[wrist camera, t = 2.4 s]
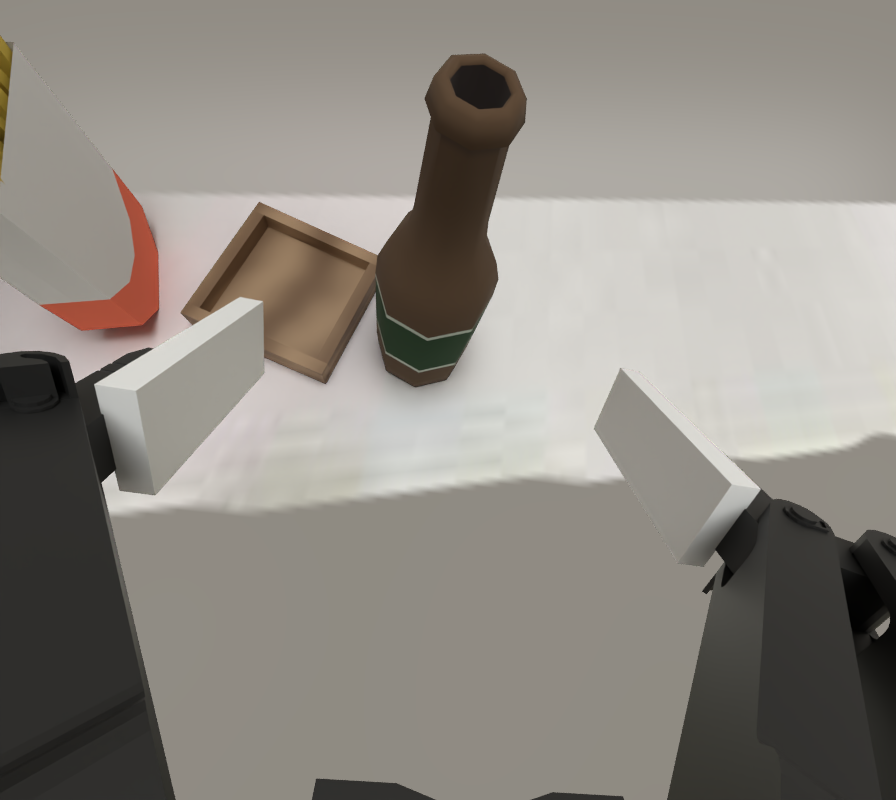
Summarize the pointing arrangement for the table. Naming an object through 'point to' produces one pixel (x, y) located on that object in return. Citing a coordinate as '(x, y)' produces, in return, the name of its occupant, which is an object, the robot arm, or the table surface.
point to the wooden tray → (292, 288)
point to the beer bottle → (448, 222)
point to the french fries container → (67, 212)
